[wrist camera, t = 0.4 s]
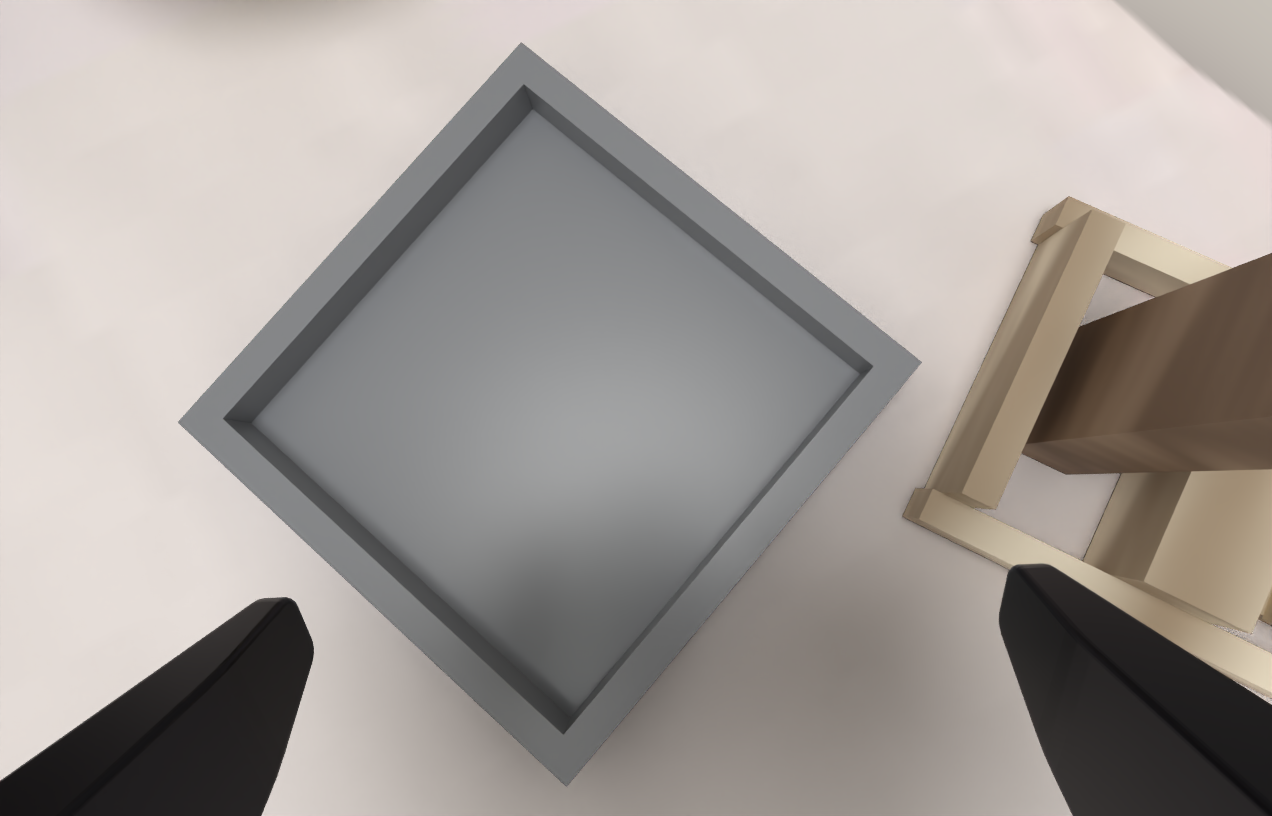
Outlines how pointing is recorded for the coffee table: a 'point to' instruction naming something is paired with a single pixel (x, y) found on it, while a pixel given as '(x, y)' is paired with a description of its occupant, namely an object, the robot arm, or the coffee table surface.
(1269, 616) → the offcut
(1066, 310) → the offcut rack
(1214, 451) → the walnut block
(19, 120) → the coffee table surface
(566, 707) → the tray
